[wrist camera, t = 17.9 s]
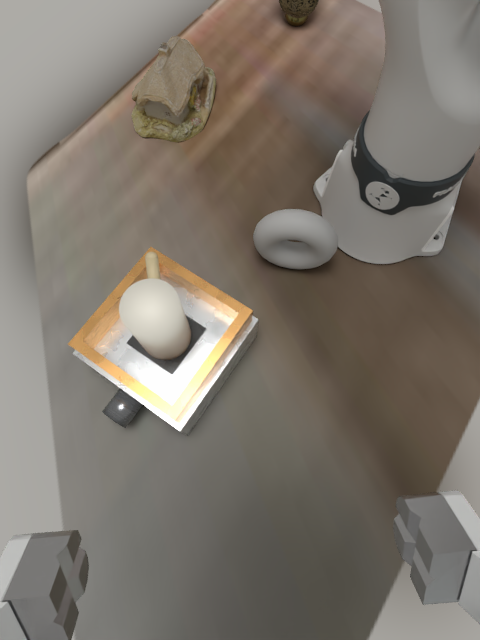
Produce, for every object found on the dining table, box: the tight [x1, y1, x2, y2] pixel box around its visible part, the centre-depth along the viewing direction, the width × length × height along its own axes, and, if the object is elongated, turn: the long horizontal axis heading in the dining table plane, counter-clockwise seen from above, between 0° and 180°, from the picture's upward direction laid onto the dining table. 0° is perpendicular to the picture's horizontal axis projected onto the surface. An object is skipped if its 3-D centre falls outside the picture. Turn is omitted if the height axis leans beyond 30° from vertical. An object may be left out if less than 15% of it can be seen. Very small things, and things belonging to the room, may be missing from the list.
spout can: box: [119, 252, 191, 360], centre depth 39 cm, size 9×5×8 cm, turn 5°
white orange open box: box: [68, 247, 258, 436], centre depth 44 cm, size 17×14×9 cm
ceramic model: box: [132, 36, 216, 142], centre depth 57 cm, size 14×11×10 cm
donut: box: [253, 209, 338, 269], centre depth 48 cm, size 10×4×10 cm, turn 80°
